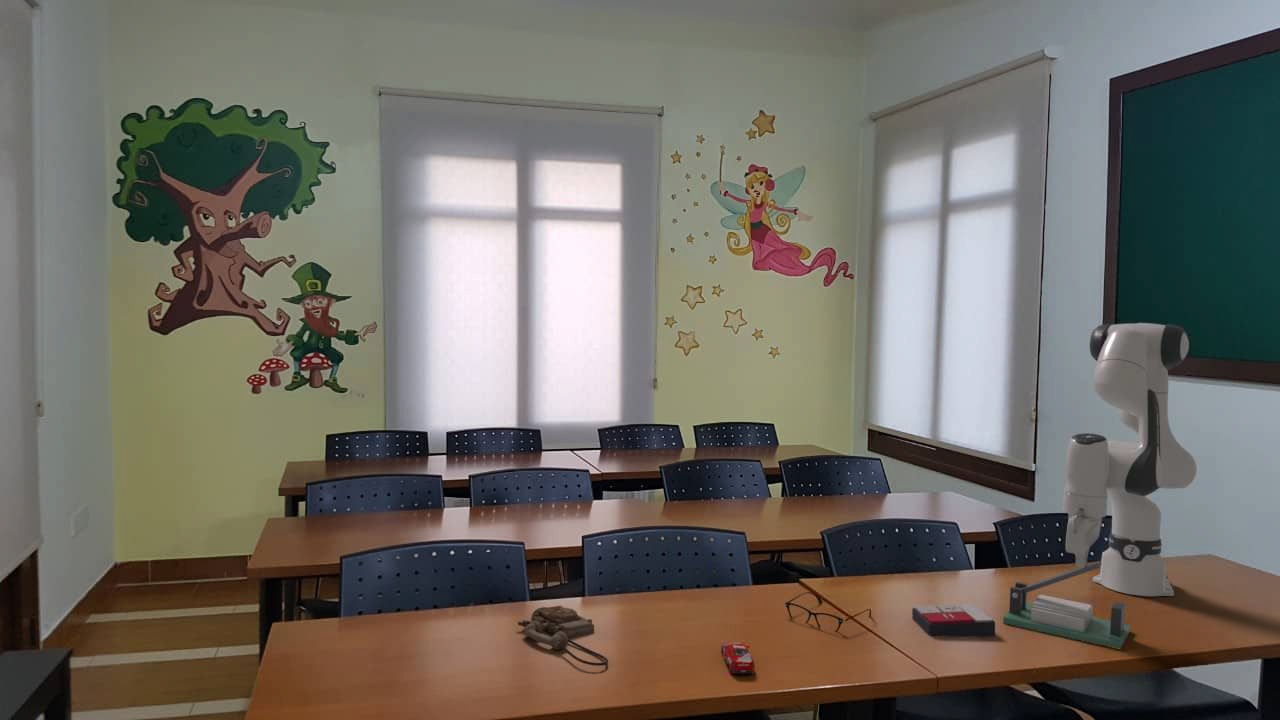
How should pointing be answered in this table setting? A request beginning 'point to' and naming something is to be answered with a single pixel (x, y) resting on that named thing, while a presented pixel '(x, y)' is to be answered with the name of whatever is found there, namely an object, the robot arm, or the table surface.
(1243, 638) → the table surface
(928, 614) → the black and red box
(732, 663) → the race car
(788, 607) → the eyeglasses
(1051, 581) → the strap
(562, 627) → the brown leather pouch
